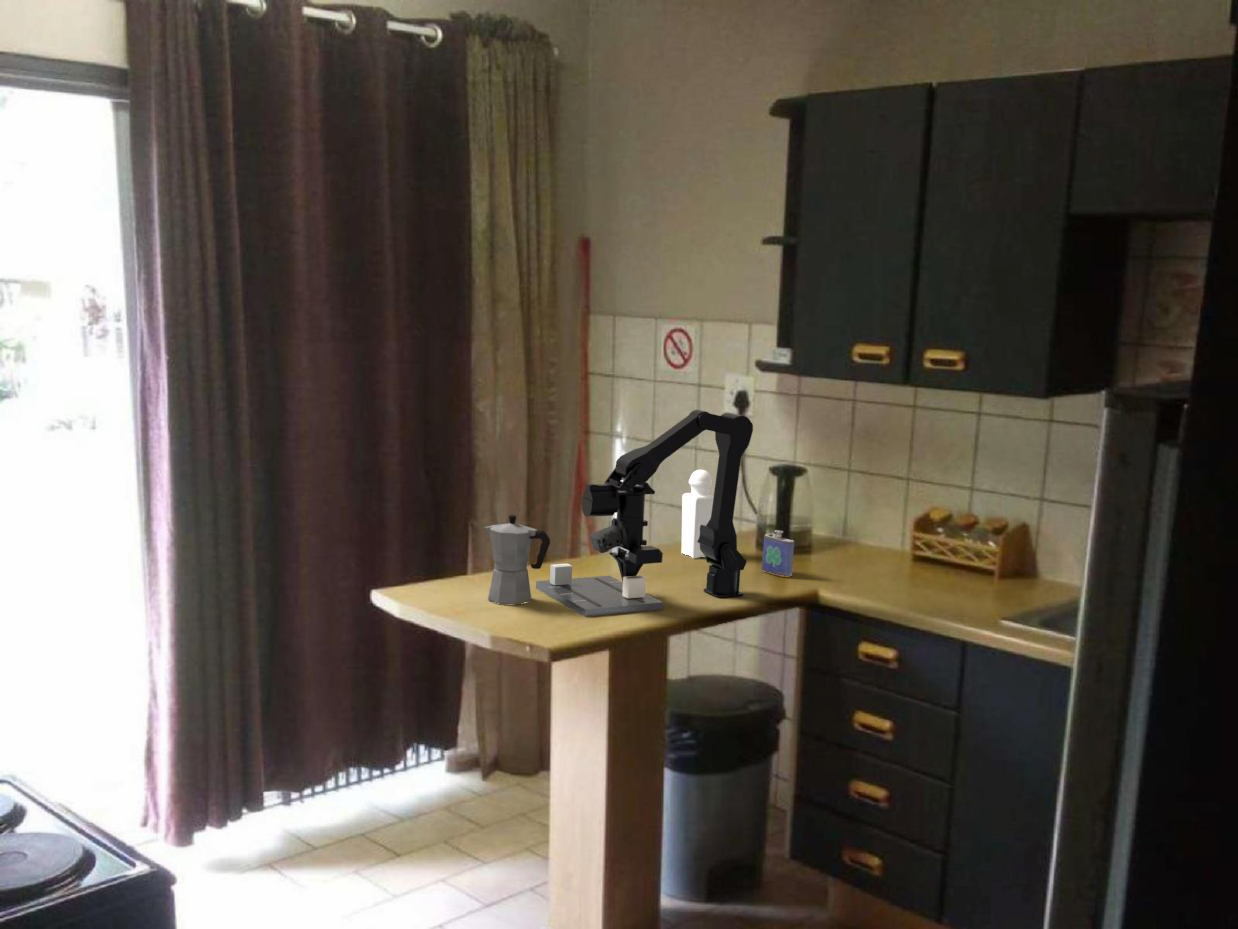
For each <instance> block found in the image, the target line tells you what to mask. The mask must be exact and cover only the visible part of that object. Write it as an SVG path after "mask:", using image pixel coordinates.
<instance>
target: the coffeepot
mask: <svg viewBox="0 0 1238 929" xmlns="http://www.w3.org/2000/svg"><path fill="white" fill-rule="evenodd" d="M508 519H509V522H508V523H502V524H492V525H487V526H484V527H483V529H484V530H485V531H486V533H487V534H488V537H489V538H490V543H491V551H492V560H493V561H494V569H493V572H492V575H491V576H492V577H491V582H490V586H489V592H488V597H487V600H489V601H490V602H491V603H493V602H496V603H499V604H498V605H502V604H521V603H524V602H528V603H530V602H531V599H532V594H531V587H530V577H529V570H528V568H527V567H528V561H529V559H530V554H531V553H530V552H531V546H532V542H533V540H537V539H538V540H539V539H540V540H541V544H540V546H539V552H538V554H537V555H536V562H535V563H530V567H531V569H533V570H534V569H535V570H540V569H541V568H542V565H543V563H544V560H545V558H546V555H547V552H548V549H549V547H550V545H551V538H550V537H549V535H548V534H547V533H546V531H545V530H544V529H536V528H534V527H530V526H526V525H523V524H519V523H516V520H517V515H515V514H509V515H508ZM529 601H530V602H529ZM496 603H495V604H496ZM521 605H522V604H521Z"/></svg>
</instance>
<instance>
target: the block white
mask: <svg viewBox="0 0 1238 929" xmlns="http://www.w3.org/2000/svg"><path fill="white" fill-rule="evenodd" d="M549 567H550V569H549V570H550V571H549V580H550V583H551V584H553V585H567V584H572V578H573V565H571V564H569V563H556V564H550V566H549Z"/></svg>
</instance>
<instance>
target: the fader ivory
mask: <svg viewBox="0 0 1238 929" xmlns="http://www.w3.org/2000/svg"><path fill="white" fill-rule="evenodd" d="M646 579H647V578H646V577H644V576H642V575H636V576H627V577H623V591H622V596H624V597H626V598H638V597H645V593H646Z"/></svg>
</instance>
